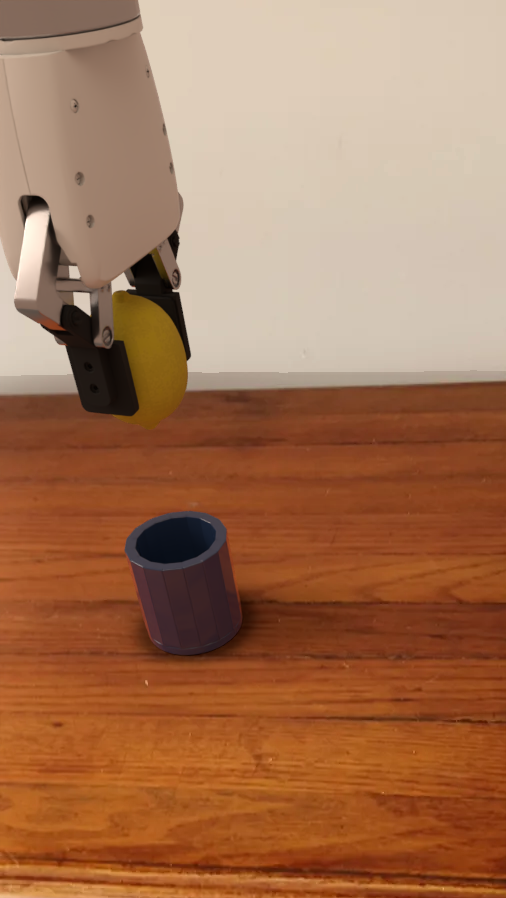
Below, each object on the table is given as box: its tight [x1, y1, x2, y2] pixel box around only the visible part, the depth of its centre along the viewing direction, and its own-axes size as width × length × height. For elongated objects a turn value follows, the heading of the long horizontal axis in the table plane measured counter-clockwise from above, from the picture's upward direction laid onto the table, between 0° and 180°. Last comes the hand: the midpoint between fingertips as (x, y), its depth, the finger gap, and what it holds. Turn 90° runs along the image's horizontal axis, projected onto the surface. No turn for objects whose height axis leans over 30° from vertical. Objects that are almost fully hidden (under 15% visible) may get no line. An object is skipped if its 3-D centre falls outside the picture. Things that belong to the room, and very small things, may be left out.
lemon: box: [89, 289, 189, 431], centre depth 53 cm, size 6×6×8 cm
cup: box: [123, 510, 244, 656], centre depth 63 cm, size 6×6×7 cm
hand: (139, 381), depth 53 cm, fingers closed on lemon, 5 cm apart
